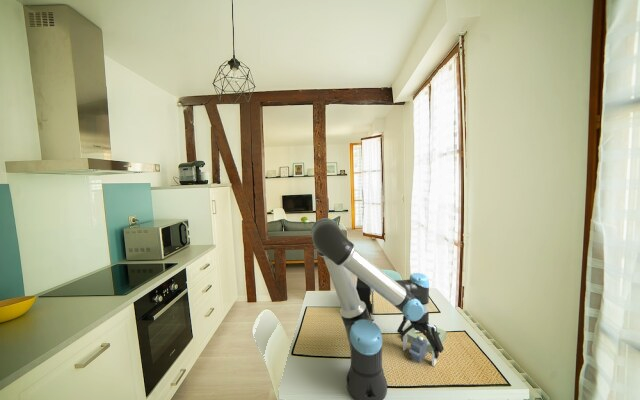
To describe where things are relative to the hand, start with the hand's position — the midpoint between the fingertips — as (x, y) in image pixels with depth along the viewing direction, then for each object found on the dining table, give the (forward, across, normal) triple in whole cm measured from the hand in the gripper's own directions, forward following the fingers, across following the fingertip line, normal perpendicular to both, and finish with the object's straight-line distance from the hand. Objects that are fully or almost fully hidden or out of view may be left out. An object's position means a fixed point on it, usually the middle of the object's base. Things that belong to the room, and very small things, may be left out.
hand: (418, 356), depth 107 cm
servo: (0, 0, 0) cm, 0 cm away
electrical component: (0, +37, -11) cm, 39 cm away
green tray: (0, +4, -13) cm, 14 cm away
